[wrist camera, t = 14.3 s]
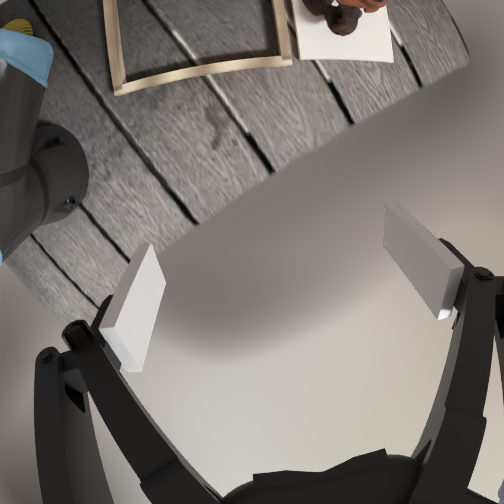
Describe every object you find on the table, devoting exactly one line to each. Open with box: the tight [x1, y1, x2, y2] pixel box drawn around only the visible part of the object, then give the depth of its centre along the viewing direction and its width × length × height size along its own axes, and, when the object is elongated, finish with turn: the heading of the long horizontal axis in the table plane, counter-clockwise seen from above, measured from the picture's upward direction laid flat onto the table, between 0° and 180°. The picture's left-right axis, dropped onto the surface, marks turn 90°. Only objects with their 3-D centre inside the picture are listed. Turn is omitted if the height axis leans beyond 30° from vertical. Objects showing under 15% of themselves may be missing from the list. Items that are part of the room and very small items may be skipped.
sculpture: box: [2, 19, 33, 36], centre depth 25 cm, size 8×4×8 cm
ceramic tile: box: [291, 0, 394, 63], centre depth 28 cm, size 13×15×1 cm
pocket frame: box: [103, 0, 292, 96], centre depth 28 cm, size 22×16×2 cm
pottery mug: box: [302, 0, 386, 36], centre depth 25 cm, size 12×9×8 cm
